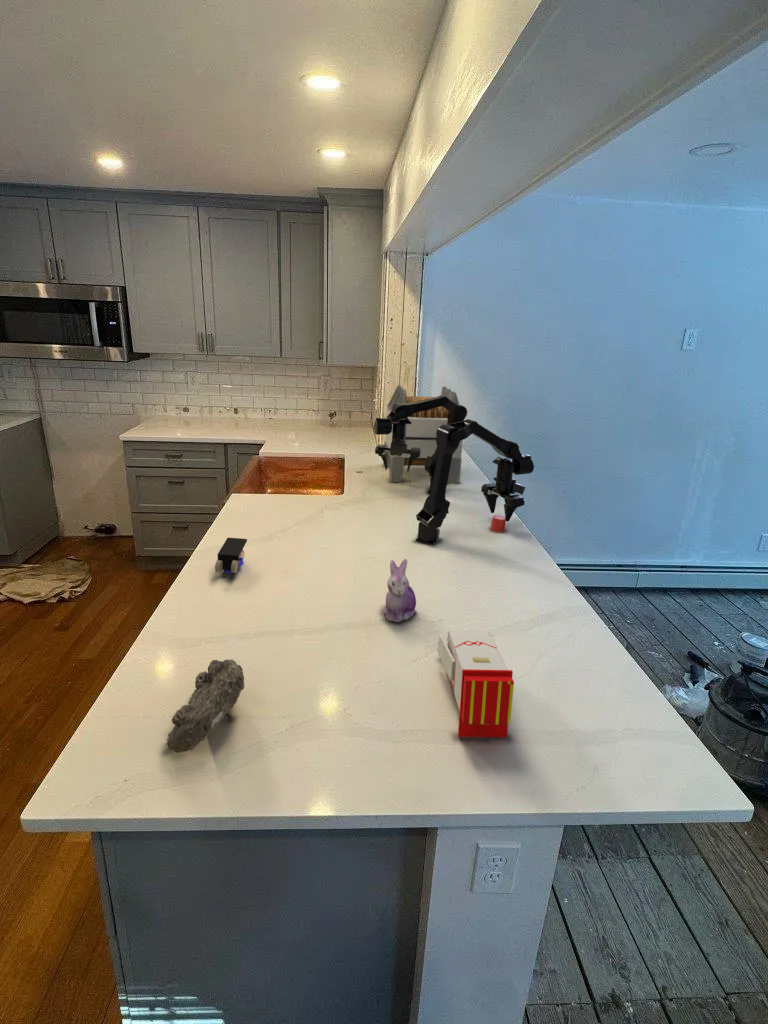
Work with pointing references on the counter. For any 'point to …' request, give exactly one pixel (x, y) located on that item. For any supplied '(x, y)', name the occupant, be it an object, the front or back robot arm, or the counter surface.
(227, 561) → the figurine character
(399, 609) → the figurine
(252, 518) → the counter surface
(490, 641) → the toy
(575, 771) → the counter surface
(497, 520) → the canister
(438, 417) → the transformer
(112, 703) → the counter surface
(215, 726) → the fossil
